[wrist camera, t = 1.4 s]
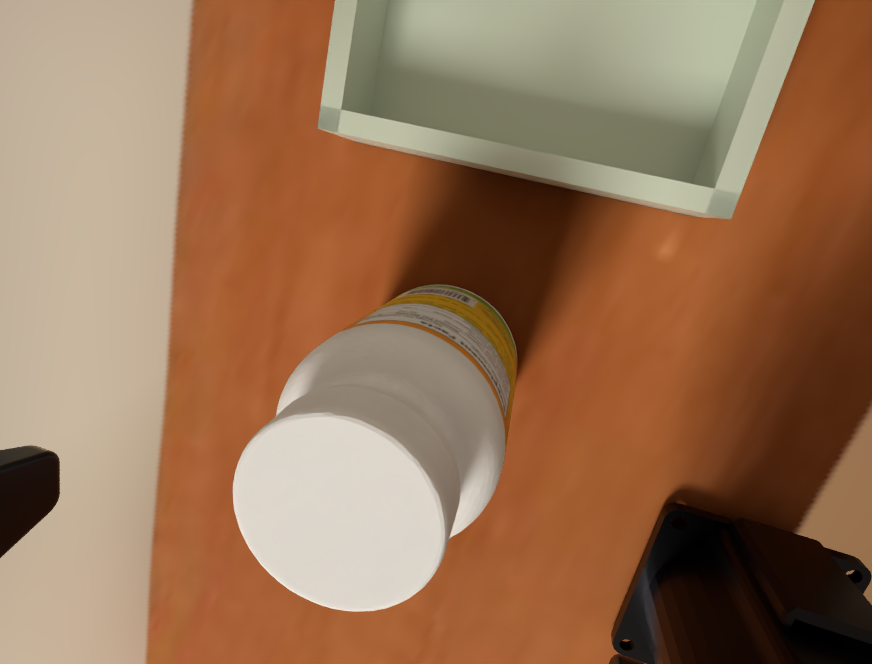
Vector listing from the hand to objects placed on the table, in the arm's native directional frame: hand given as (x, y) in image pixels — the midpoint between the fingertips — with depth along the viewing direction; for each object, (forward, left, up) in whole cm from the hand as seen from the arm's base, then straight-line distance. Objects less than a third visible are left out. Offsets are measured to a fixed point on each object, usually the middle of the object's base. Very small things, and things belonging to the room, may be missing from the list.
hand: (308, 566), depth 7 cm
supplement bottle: (0, 0, -11) cm, 11 cm away
